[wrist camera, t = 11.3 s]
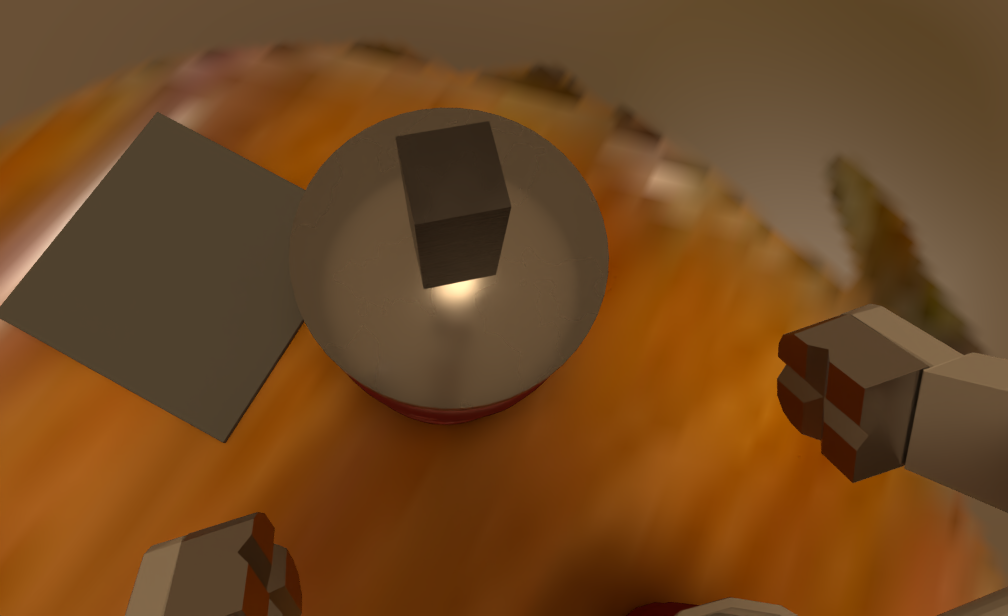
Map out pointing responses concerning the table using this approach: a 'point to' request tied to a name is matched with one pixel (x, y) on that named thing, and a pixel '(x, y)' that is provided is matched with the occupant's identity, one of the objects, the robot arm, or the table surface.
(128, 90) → the table surface
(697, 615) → the plastic cup
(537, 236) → the lid
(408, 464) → the table surface
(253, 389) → the mat
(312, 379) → the table surface
